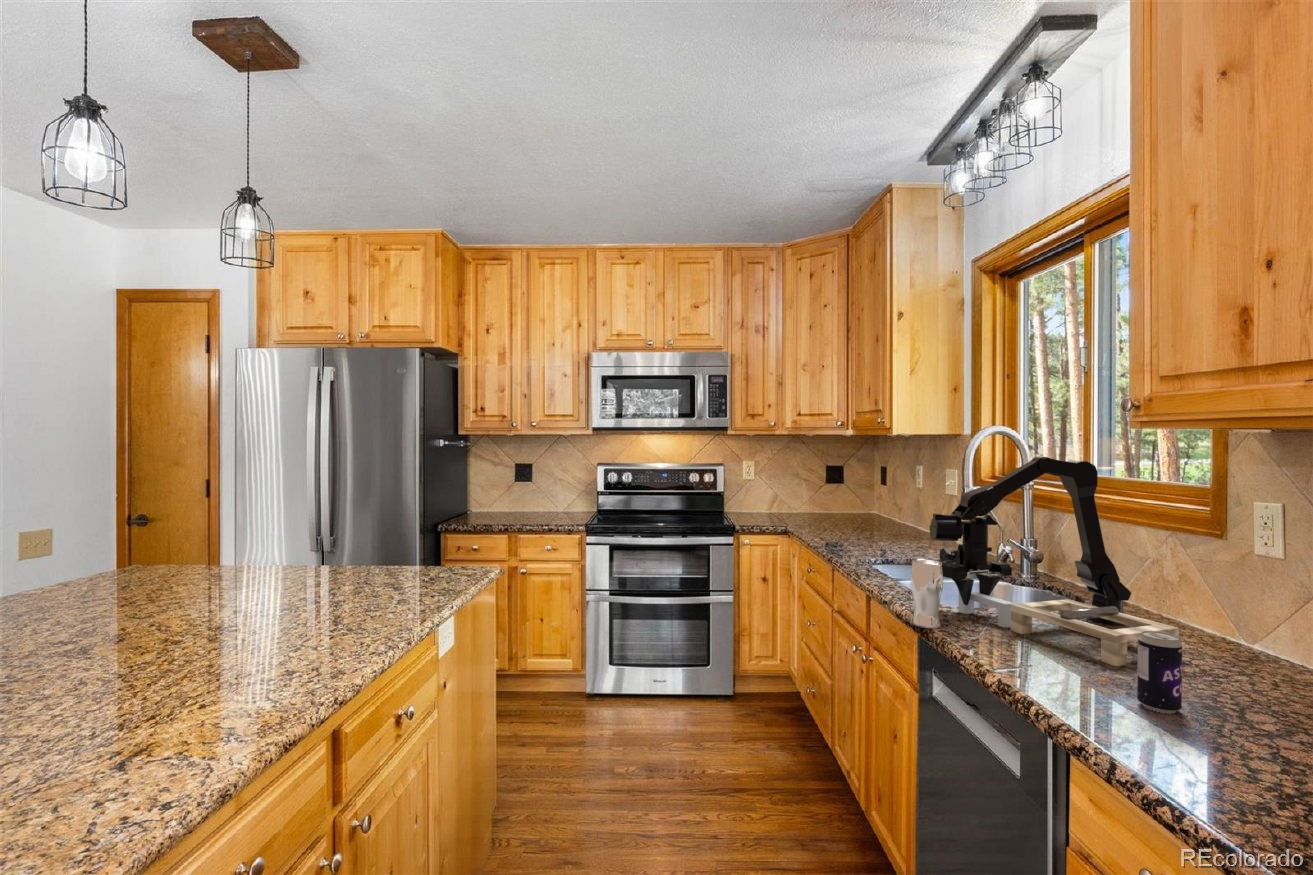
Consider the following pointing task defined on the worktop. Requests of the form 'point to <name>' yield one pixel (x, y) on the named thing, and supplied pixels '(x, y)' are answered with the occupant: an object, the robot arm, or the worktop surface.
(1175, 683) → the beverage can
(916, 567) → the beer glass
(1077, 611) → the rod
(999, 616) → the long white beam
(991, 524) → the robot arm
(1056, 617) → the shelf
